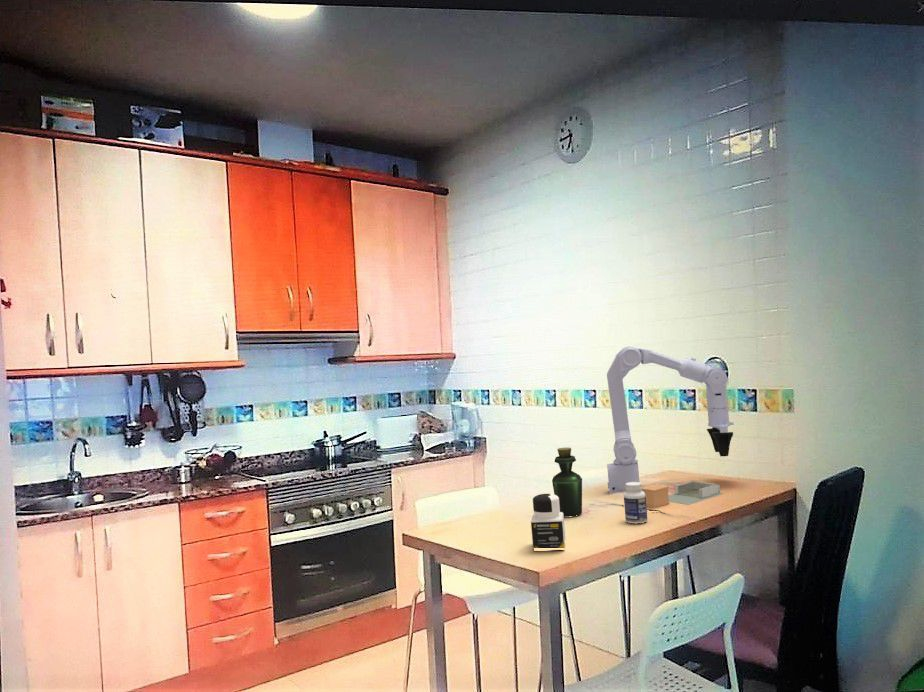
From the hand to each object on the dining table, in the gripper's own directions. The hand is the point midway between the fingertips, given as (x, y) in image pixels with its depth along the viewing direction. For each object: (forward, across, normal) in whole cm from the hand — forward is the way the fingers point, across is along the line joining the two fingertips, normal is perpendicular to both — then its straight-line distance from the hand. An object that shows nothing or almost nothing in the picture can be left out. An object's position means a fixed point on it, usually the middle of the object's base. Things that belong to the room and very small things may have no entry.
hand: (721, 453), depth 199 cm
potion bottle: (+10, -24, +45) cm, 52 cm away
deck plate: (+10, -14, +12) cm, 21 cm away
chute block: (+10, -22, +22) cm, 33 cm away
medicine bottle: (+10, -53, +48) cm, 73 cm away
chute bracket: (+9, -12, +10) cm, 18 cm away
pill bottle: (+10, -34, +28) cm, 45 cm away
